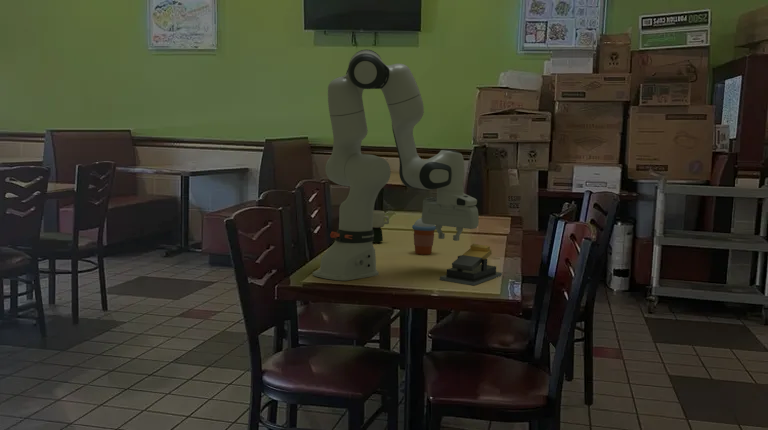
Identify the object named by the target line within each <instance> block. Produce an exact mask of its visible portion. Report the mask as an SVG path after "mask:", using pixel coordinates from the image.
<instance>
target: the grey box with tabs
mask: <svg viewBox="0 0 768 430" xmlns="http://www.w3.org/2000/svg"><path fill="white" fill-rule="evenodd" d="M462 255H463V254H460V255H457V259H458V258H459V257H460V256H462ZM501 275H502V276H503V272H501V271H497V266H495V265H489V264H488V258H487V259H482V263H481V264H480V265H478V266H477V267H476V268H475V269H474V270H473V271H469V270H462V269H456V268H452V267H449V268H447V269H446V274H445V275H440V277H439V281H445V282H451V283H455V284H462V285H469V286H477V285H480V284H483V283H485V282H488V281H491V280H493V279H496V277H497V278H499V277H502V276H501ZM498 276H499V277H498Z"/></svg>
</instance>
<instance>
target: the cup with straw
mask: <svg viewBox="0 0 768 430" xmlns="http://www.w3.org/2000/svg"><path fill="white" fill-rule="evenodd" d="M421 218H422V217H419V218H417V219H416V220H415V222H414V224H413V225H412V227H411V228H412V229H413V244H414V253H415V254H416V255H422V256H423V255H426V256H427V255H431V254H432V250H433V246H434V238H435V230H436V225H431V224H423V222H422V220H421ZM436 231H437V230H436Z"/></svg>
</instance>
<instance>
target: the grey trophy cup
mask: <svg viewBox="0 0 768 430" xmlns="http://www.w3.org/2000/svg"><path fill="white" fill-rule="evenodd" d="M385 213H386V212H385V211H383V210H375V209H374V210H373V227H372V229H373V230H374V240H373V241H372V243H381V242H383V241H384V239H383V238H384V237H383V230H382V228H383V227H384V226H385V225H388V224H390V216H389V215H385ZM385 219H386V221H385Z"/></svg>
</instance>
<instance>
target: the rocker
mask: <svg viewBox="0 0 768 430" xmlns="http://www.w3.org/2000/svg"><path fill="white" fill-rule="evenodd" d="M492 251H493V250H492V249H491V246H490V245H485V244H478V243H472V244H471V245H470V248H469V249H467V250H466V251H465V252H464V253H463V254H461V255H462V256H460V255H459V256H460V257H459V258H458V257H457V258H456V259H455V260H454V261H453V262H452V263H451V268H456V269H462V270H469V271H473V270H474V269H475V268H476V267H477V266H478V265H480V264H482V259H487V260H488V258H489V257H490V256H491V255H492V254H493V252H492Z"/></svg>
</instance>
